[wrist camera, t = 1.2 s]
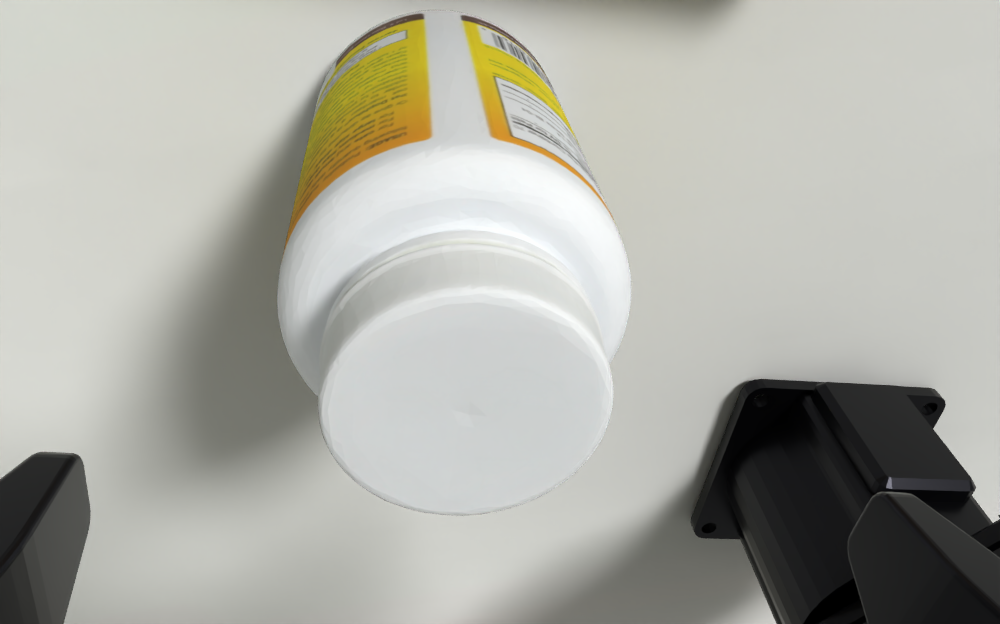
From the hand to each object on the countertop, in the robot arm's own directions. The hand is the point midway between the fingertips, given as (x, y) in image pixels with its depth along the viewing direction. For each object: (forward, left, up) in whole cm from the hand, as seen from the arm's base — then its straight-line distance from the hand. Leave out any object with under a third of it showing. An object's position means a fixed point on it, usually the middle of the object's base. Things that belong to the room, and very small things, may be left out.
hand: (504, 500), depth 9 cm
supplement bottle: (0, 0, -12) cm, 12 cm away
